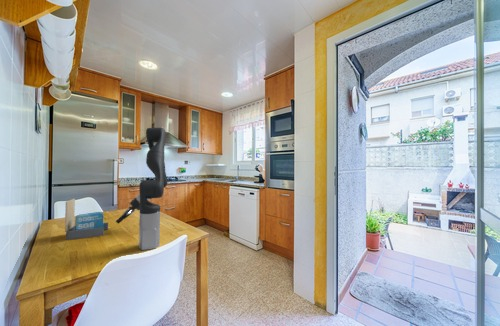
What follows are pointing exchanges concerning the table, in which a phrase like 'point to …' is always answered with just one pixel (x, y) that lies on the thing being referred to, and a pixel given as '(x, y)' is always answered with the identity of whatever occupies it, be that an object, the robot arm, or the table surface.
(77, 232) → the mailer box
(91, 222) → the blue carton
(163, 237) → the table surface
